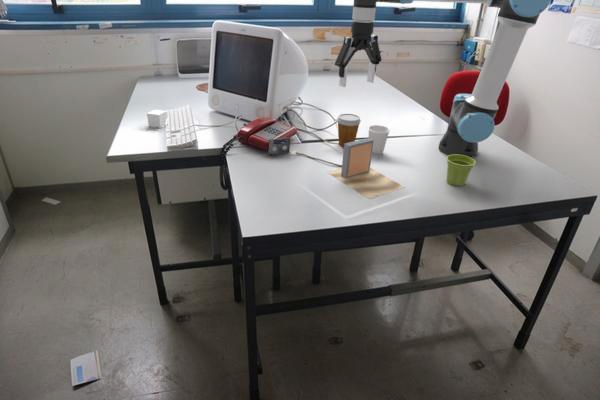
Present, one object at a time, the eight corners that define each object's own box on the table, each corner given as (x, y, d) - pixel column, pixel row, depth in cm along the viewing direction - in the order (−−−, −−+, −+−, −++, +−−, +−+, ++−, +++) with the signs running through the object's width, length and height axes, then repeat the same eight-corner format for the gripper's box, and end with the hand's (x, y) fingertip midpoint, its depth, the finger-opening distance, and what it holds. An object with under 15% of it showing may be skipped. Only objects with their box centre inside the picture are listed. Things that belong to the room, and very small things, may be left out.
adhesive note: (160, 128, 178) (158, 115, 175) (148, 126, 179) (146, 113, 176) (168, 124, 183) (166, 110, 180) (156, 122, 184) (154, 109, 181)
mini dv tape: (288, 151, 161) (288, 136, 158) (289, 152, 160) (289, 138, 157) (268, 153, 158) (268, 138, 155) (269, 154, 157) (269, 140, 154)
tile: (341, 175, 142) (344, 143, 136) (364, 169, 147) (368, 137, 141) (345, 178, 140) (349, 146, 134) (369, 171, 145) (374, 140, 139)
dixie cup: (389, 151, 164) (393, 127, 159) (381, 158, 158) (385, 134, 153) (369, 146, 168) (372, 123, 163) (361, 153, 162) (364, 129, 157)
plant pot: (436, 181, 143) (441, 158, 138) (449, 173, 148) (454, 151, 144) (461, 191, 137) (467, 168, 133) (474, 182, 143) (480, 160, 138)
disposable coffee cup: (343, 139, 174) (345, 111, 168) (362, 145, 169) (365, 117, 163) (330, 145, 168) (332, 116, 162) (349, 151, 163) (352, 122, 157)
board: (326, 174, 144) (326, 172, 144) (361, 164, 152) (361, 162, 152) (368, 201, 129) (369, 199, 128) (404, 189, 137) (404, 187, 136)
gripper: (381, 18, 147) (374, 78, 158) (327, 21, 135) (323, 85, 145) (396, 20, 142) (388, 82, 153) (342, 23, 129) (336, 90, 140)
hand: (356, 84), depth 149 cm, fingers open, 13 cm apart
